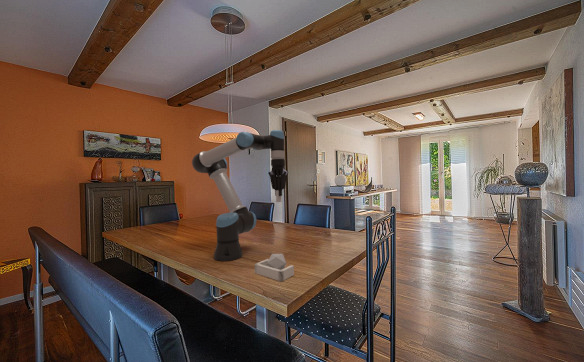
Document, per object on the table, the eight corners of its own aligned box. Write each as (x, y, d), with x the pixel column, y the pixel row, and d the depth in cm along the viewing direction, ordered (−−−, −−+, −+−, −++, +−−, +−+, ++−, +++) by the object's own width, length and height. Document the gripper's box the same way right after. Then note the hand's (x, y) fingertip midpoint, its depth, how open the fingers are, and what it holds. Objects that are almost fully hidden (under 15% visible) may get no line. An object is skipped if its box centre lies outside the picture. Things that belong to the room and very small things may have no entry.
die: (278, 278, 106) (289, 258, 108) (261, 267, 108) (273, 248, 110) (280, 277, 114) (291, 259, 116) (265, 267, 116) (276, 249, 118)
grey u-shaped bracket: (254, 272, 111) (254, 264, 111) (267, 267, 118) (267, 258, 118) (281, 281, 101) (281, 272, 101) (294, 274, 108) (293, 265, 108)
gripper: (291, 158, 133) (292, 201, 134) (273, 159, 141) (274, 200, 142) (282, 157, 127) (283, 203, 128) (264, 159, 135) (265, 202, 136)
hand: (278, 201), depth 135 cm, fingers closed
